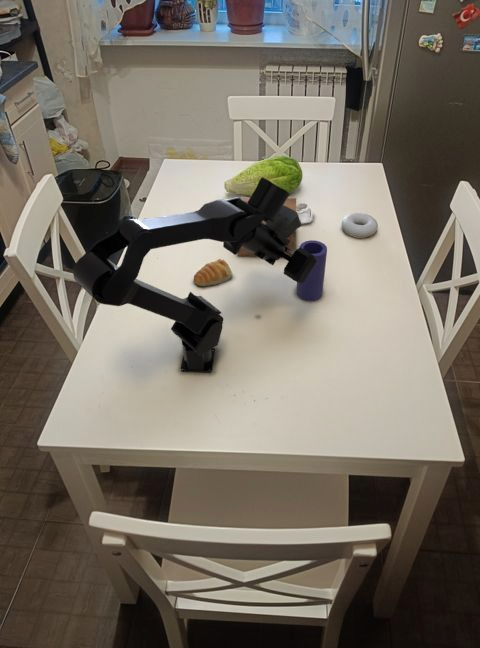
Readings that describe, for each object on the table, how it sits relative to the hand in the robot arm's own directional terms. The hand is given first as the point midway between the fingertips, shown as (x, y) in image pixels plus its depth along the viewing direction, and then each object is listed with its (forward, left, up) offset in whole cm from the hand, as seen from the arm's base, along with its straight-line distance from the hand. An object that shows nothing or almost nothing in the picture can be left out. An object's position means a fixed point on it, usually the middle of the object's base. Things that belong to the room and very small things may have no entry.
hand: (294, 261), depth 111 cm
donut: (+33, -19, -12) cm, 40 cm away
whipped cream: (+38, -3, -12) cm, 40 cm away
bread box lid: (+25, +7, -3) cm, 26 cm away
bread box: (+25, +7, -12) cm, 29 cm away
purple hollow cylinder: (+4, -4, -12) cm, 13 cm away
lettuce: (+53, +9, -12) cm, 55 cm away
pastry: (+9, +19, -12) cm, 24 cm away
